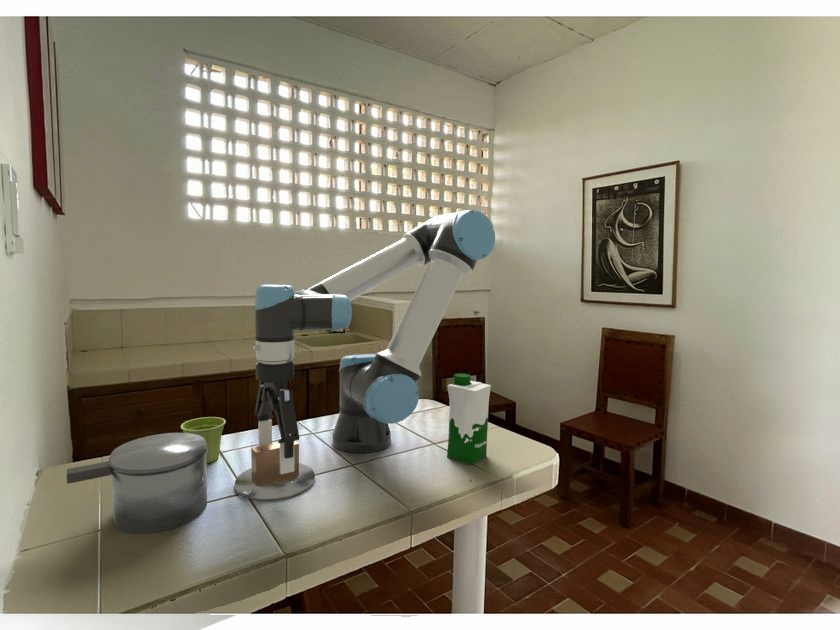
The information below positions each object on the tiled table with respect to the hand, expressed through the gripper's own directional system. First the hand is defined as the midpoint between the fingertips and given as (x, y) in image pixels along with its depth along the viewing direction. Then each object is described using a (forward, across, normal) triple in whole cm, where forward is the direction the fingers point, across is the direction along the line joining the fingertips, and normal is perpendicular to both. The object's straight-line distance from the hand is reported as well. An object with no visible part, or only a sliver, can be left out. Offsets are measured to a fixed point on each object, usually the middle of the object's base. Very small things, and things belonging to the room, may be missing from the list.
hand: (275, 460), depth 96 cm
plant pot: (+5, -20, -10) cm, 23 cm away
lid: (+5, 0, 0) cm, 5 cm away
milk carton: (+5, +12, +43) cm, 45 cm away
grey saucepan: (+5, 0, -24) cm, 24 cm away
